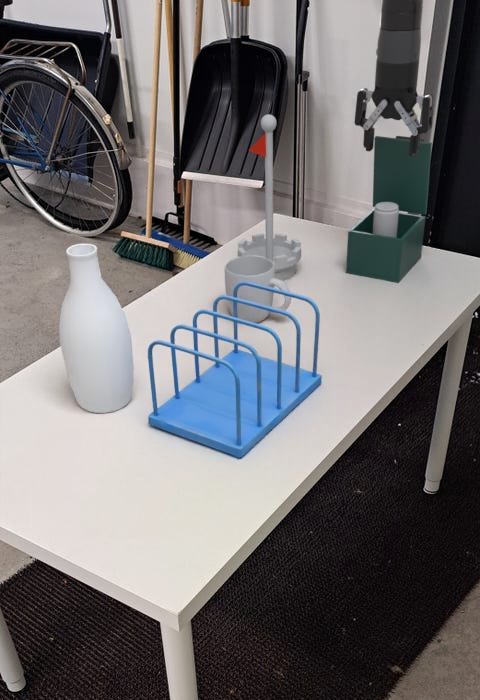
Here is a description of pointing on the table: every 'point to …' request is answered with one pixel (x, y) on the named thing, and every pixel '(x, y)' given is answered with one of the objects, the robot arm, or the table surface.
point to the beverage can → (386, 219)
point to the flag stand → (271, 216)
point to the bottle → (95, 337)
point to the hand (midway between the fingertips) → (390, 152)
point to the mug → (258, 273)
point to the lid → (401, 174)
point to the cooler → (385, 248)
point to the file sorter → (234, 384)
